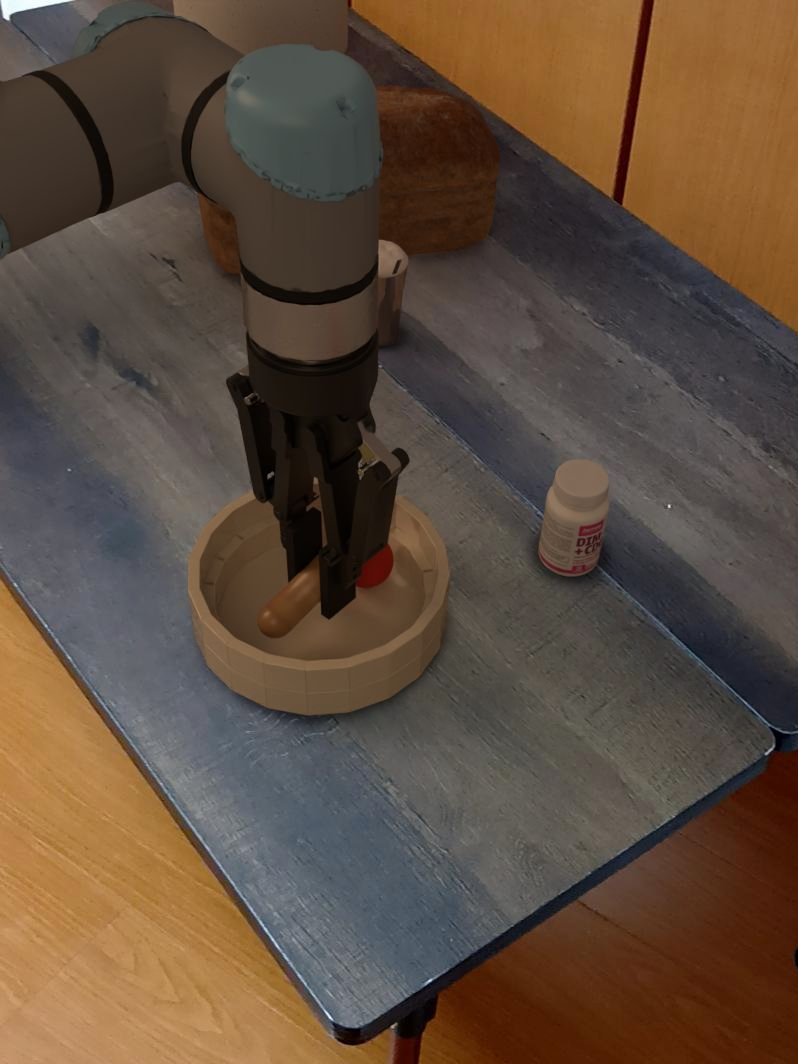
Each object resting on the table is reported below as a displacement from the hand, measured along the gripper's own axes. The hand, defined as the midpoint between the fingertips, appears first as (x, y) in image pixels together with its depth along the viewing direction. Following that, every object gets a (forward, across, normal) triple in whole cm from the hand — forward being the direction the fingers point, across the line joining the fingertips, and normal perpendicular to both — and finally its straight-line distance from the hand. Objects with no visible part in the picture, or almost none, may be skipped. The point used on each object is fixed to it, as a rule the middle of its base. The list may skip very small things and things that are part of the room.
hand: (322, 594), depth 92 cm
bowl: (+3, 0, 0) cm, 3 cm away
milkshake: (+3, +19, -27) cm, 33 cm away
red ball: (0, 0, -4) cm, 5 cm away
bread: (+3, +31, -36) cm, 48 cm away
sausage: (-2, +1, 0) cm, 2 cm away
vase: (+3, +52, -46) cm, 69 cm away
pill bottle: (+3, -9, -17) cm, 20 cm away
